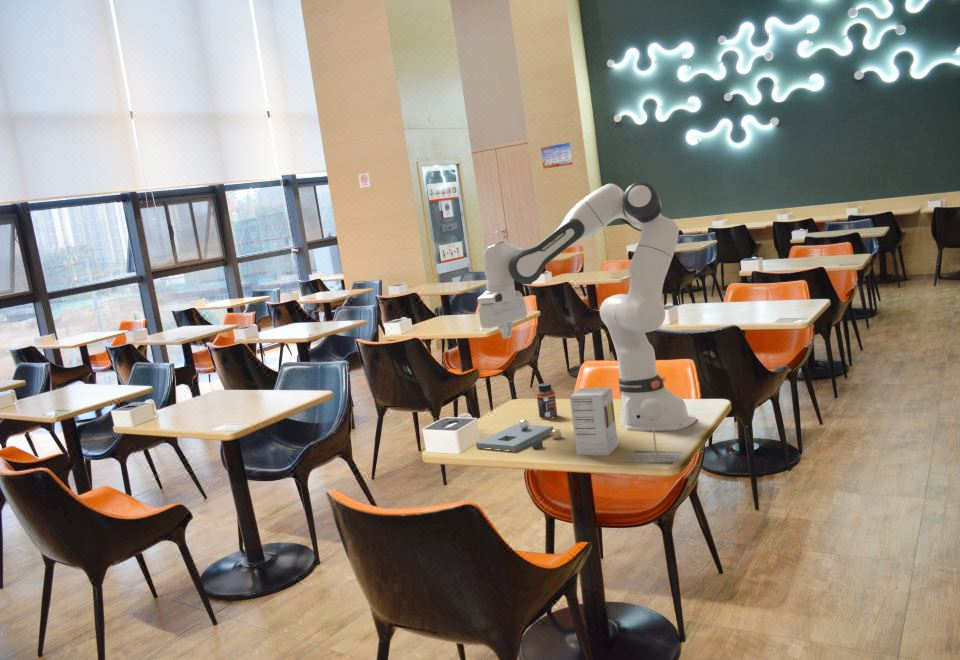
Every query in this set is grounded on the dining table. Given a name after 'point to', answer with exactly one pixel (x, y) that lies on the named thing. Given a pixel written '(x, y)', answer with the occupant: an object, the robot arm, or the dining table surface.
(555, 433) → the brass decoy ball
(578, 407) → the supplement box
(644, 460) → the dining table surface
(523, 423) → the steel ball
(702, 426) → the dining table surface
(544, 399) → the supplement bottle
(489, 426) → the dining table surface
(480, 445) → the hole plate
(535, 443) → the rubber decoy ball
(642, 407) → the lollipop
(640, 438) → the dining table surface
